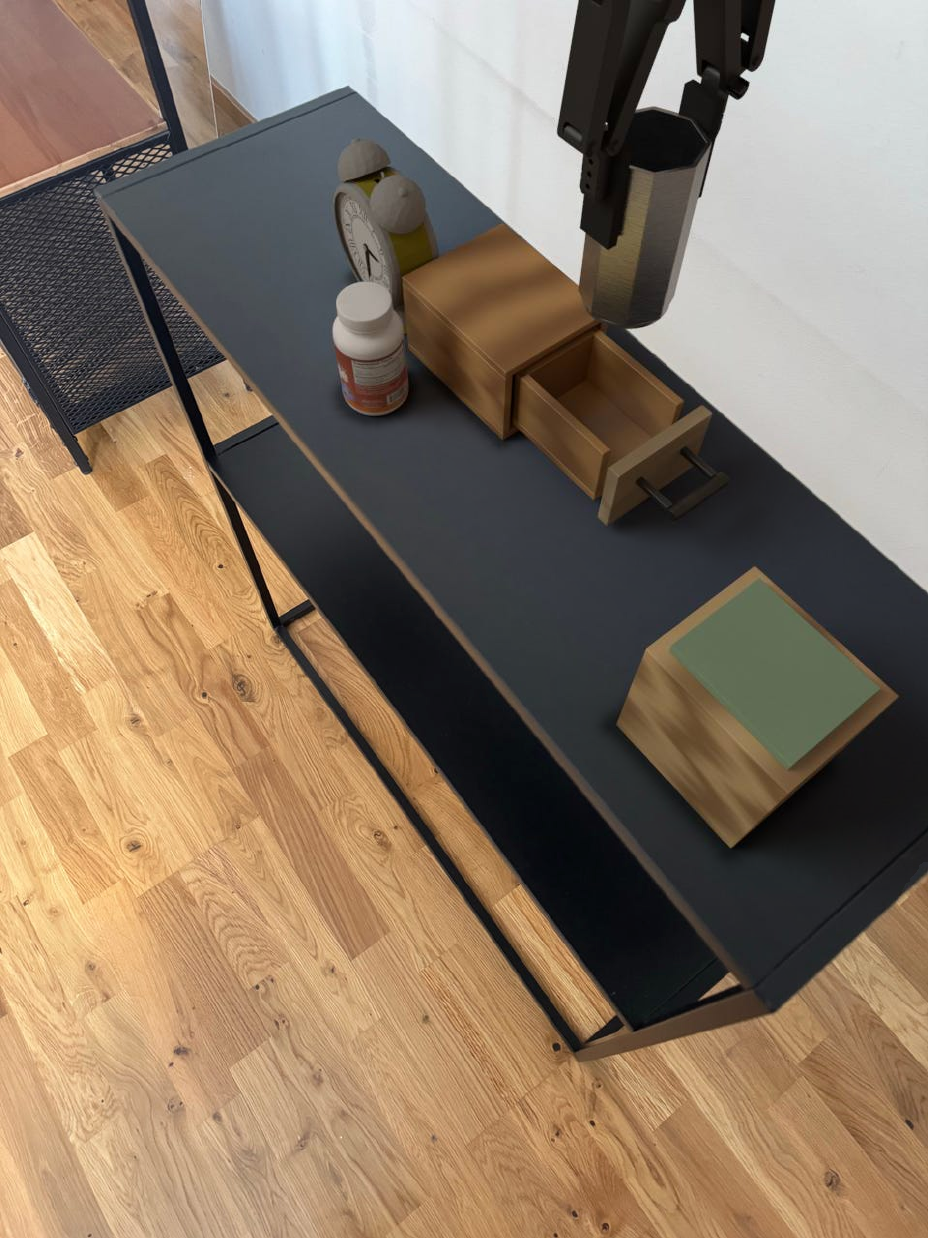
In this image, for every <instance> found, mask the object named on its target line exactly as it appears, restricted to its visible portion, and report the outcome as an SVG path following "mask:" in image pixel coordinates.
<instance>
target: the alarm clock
mask: <svg viewBox="0 0 928 1238" xmlns="http://www.w3.org/2000/svg"><path fill="white" fill-rule="evenodd" d="M337 163H338V164H337V175H338V179H339V181H342V183H340V184H339V185H337V187H336V189H335V191H334V193H333V200H332V209H333V210H332V211H333V218H334V222H335V227H336V232H337V236H338V240H339V242H340V245H341V247H342V251H343V253H344V256H345V258H346V261H347V263H348V265H349V267H350V269H351V272H352V273H353V275H354V277H355V278H356V280H357V283H358V282H374V283H377V284H380V285H382V286H383V287H385V288H386V289H387V290H388V291H389V293H390V295H391V297H392V304H393V310H394V311H395V312H396V313H397V314H398V316H399V317H400V319H401V321H402V324H403V330H404V335H407V328H406V316H405V305H404V293H403V281H402V277H403V276H405V275H407V274H409V273H410V272H412V271H414V270H416V269H418V268H420V267H422V266H424V265H425V264H427V263H429V262H431V261H433V260H435V259H437V258H438V257H440V252H439V247H438V241H437V237H436V234H435V230H434V226H433V224H432V222H431V218H430V216H429V213H428V210H427V204H426V198H425V195H424V192H423V191H422V188H421V187H420V186H419V185H418V184H417V183H416V181H414V180H413V179H411V178H409V177H407V176H406V175H404V174H403V173H402V172H401V171H400V170H398V169H396V168H394V167H393V166H389V165H390V164H391V163H392V161H391V159H390V156H389V155H388V153H387V151H386V150H385V149H384V148H383V147H382V146H380V145H379V144H378V143H377V142H374V141H372V140H368V139H360V138H358V137H354V138H353V139H352V140H351V142H350V144H348V145H347V146H346V147H345V148H344V149H343V150H342V151H341V154H340V156H339V159H338V162H337Z"/></svg>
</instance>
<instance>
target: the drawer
mask: <svg viewBox="0 0 928 1238" xmlns="http://www.w3.org/2000/svg"><path fill="white" fill-rule="evenodd" d="M684 402H685V401H684V399H682V397H680V396H679V395H678V394H676V393H675V392H674V391H673V390H672V389H671V388H669V387H668V386H667V385H666V384H665V383H664V382H662V381H661V380H660V379H659V378H658V377H656V376H655V374H653V373H651V372H650V370H648V369H647V368H646V367H644V365H642V364H641V363H640V362H639V361H638V360H636V359H635V358H634V357H632V356H631V355H630V354H629V353H628V352H627V351H626V350H624V348H622V347H621V346H620V345H618V344H617V343H616V342H614V340H613V339H611V338H610V337H609V336H608V335H607V334H604V333H603V332H602V331H601V330H599V329H598V328H597V327H596V326H594V327H592V328H590V329H589V330H587V331H585V332H584V333H582V334H580V335H579V336H577V337H575V338H574V339H572V340H570V341H569V342H567V343H565V344H564V345H562V346H560V347H559V348H557V349H555V350H554V351H552V352H550V353H549V354H547V355H545V356H544V357H542V358H540V359H539V360H537V361H536V362H534V363H532V364H531V365H529V366H527V367H526V368H524V369H522V370H521V371H519V372H517V373H516V374H515V388H514V404H513V424H514V425H515V426H516V427H517V428H518V429H519V431H520V432H521V433H522V434H523V435H524V436H525V437H526V438H527V439H529V440H530V441H531V442H532V444H534V445H535V446H536V448H538V449H539V450H540V451H541V452H542V453H543V454H544V455H545V456H546V457H547V458H548V459H549V460H550V461H551V462H553V463H554V464H555V465H556V467H558V468H559V469H560V470H561V471H562V472H563V473H564V474H565V475H566V476H567V477H568V478H569V479H571V481H572V482H573V483H575V485H577V486H578V488H580V489H581V490H582V491H583V492H584V493H585V494H586V495H587V496H588V497H589V498H590V499H591V500H592V501H595V500H597V499H598V498H600V497H601V500H600V503H599V504H600V505H599V508H598V510H599V511H598V514H597V518H598V519H599V520H600V521H601V522H602V523H603V524H604V525H605V526H606V527H608V526H609V525H610V524H612V523H614V522H615V521H616V520H618V519H619V518H621V517H622V516H623V515H626V514H627V513H628V512H629V511H632V509H634V508H635V507H637V506H638V505H639V504H641V503H642V502H644V501H645V500H646V499H648V498H650V499H652V501H654V502H655V503H656V504H657V505H658V506H660V508H661V509H663V510H664V513H665V517H666V519H667V520H668V521H669V522H670V523H676V522H678V521H679V520H680V519H682V518H683V517H685V516H686V515H687V514H689V513H690V512H691V511H693V510H694V509H696V508H698V506H700V505H701V504H703V503H704V502H706V501H707V500H709V499H710V498H711V497H712V496H714V495H715V494H717V493H718V492H720V491H721V490H722V489H724V488H725V487H726V486H728V485H729V483H730V479H729V477H728V475H727V474H726V473H724V472H722V471H720V472H717V471H716V470H714V469H713V468H712V467H711V466H710V465H709V464H707V463H706V462H705V461H704V460H703V459H702V458H700V457H699V456H698V455H699V452H700V450H701V448H702V445H703V442H704V439H705V436H706V433H707V430H708V427H709V425H710V422H711V420H712V416H713V412H711V410H709V409H708V408H707V407H706V406H704V405H703V404H701V405H700V406H698V407H697V408H695V409H693V410H692V411H691V412H689V413H688V414H686V415H685V416H683V417H682V418H680V415H681V412H682V409H683V405H684ZM679 418H680V419H679ZM693 467H694V468H695V469H696V470H698V472H700V473H701V474H702V475H703V476H705V478H707V479H708V480H707V481H705V482H704V483H702V484H701V485H699V486H698V487H697V488H695V489H694V490H692V491H691V492H689V493H688V494H686V495H685V496H684V497H683V498H681V499H680V500H678V501H677V502H675V503H674V504H673V503H672V502H671V501H670V500H669V499H667V497H665V496H664V495H663V494H662V493H661V492H660V490H661V489H662V488H664V487H666V486H667V485H668V484H670V483H671V482H672V481H674V480H676V479H677V478H678V477H679V476H682V475H683V474H684V473H686V472H687V471H688V470H691V468H693Z"/></svg>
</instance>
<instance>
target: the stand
mask: <svg viewBox="0 0 928 1238" xmlns="http://www.w3.org/2000/svg"><path fill="white" fill-rule="evenodd" d="M758 578H760V579H761V580H762V581H763V582H764V583H765V584H766V585H767V586H769V587H770V588H771V589H772V590H773V591H774V592H775V593H776V594H777V595H778V596H780V597H781V598H782V599H783V600H784V601H785V602H786V603H787V604H788V605H789V606H791V607H792V608H793V609H794V610H795V611H796V612H797V613H798V614H799V615H800V616H802V617H803V618H804V619H805V620H806V621H807V622H808V623H809V624H810V625H811V626H813V627H814V628H815V629H816V630H817V631H818V632H819V633H820V634H821V635H823V636H824V637H825V638H826V639H827V640H828V641H829V642H830V643H831V644H832V645H834V646H835V647H836V648H837V649H838V650H839V651H840V652H841V653H842V654H843V655H845V656H846V657H847V658H848V659H849V660H850V661H851V662H852V663H853V664H854V665H856V666H857V667H858V668H859V669H860V670H861V671H862V672H863V673H864V674H865V675H867V676H868V677H869V678H870V679H871V680H872V681H873V682H874V683H875V684H876V685H878V686H879V687H880V688H881V689H880V690H879V691H878V692H877V693H876V694H875V695H874V696H873V697H872V698H871V699H870V700H868V701H867V702H866V703H865V704H864V705H863V706H861V707H860V708H859V709H858V710H857V711H856V712H855V713H853V714H852V715H851V716H850V717H849V718H848V719H847V720H845V721H844V722H843V723H842V724H841V725H840V726H838V727H837V728H836V729H835V730H834V731H833V732H832V733H830V734H829V735H828V736H827V737H826V738H825V739H824V740H822V741H821V742H820V743H819V744H818V745H817V746H816V747H814V748H813V749H812V750H811V751H810V752H809V753H807V754H806V755H805V756H804V757H803V758H802V759H801V760H799V761H798V762H797V763H796V764H795V765H794V766H793V767H791V768H790V769H789V770H786V769H785V768H784V767H783V766H782V765H781V764H780V763H779V762H778V761H777V760H776V759H775V758H774V757H773V756H772V755H771V754H770V753H769V752H768V751H767V750H766V749H765V748H764V747H763V745H762V744H761V743H760V742H759V741H758V740H757V739H756V738H755V737H754V736H753V735H752V734H751V733H750V732H749V731H748V730H747V729H746V728H745V727H744V726H743V725H742V724H741V723H740V722H739V721H738V720H737V719H736V718H735V717H734V716H733V715H732V714H731V713H730V712H729V711H728V710H727V709H726V708H725V707H724V706H723V705H722V704H721V703H720V702H719V701H718V700H717V699H716V698H715V697H714V696H713V695H712V694H711V693H710V692H709V691H708V690H707V689H706V688H705V687H704V686H703V685H702V684H701V683H700V682H699V681H698V680H697V679H696V678H695V677H694V676H693V675H692V674H691V673H690V672H689V671H688V670H687V669H686V668H685V667H684V666H683V665H682V664H681V663H680V662H679V661H678V660H677V659H676V658H675V657H674V656H673V655H672V654H671V653H670V652H669V649H670V647H671V645H672V644H674V643H675V642H676V641H678V640H679V639H680V638H681V637H683V636H684V635H685V634H687V633H688V632H689V631H691V630H692V629H693V628H695V627H696V626H697V625H698V624H700V623H701V622H702V621H704V620H705V619H706V618H708V617H709V616H710V615H711V614H713V613H714V612H715V611H717V610H718V609H719V608H721V607H722V606H723V605H724V604H726V603H727V602H728V601H730V600H731V599H732V598H734V597H735V596H736V595H737V594H739V593H740V592H741V591H743V590H744V589H745V588H747V587H748V586H749V585H751V584H752V583H753V582H754V581H756V580H757V579H758ZM899 697H900V696H899V695H898V694H897V693H896V692H895V691H894V690H893V689H892V688H891V687H890V686H888V685H887V683H885V682H884V681H883V680H882V679H880V677H878V676H877V675H876V674H875V673H874V672H873V671H872V670H871V669H870V668H869V667H868V666H866V665H865V664H864V663H863V662H861V660H860V659H859V658H858V657H856V656H855V655H854V654H853V653H852V652H850V650H849V649H848V648H846V647H845V646H844V645H843V644H842V643H841V642H840V641H838V639H836V638H835V637H834V636H833V635H832V634H831V633H830V632H829V631H828V630H826V629H825V627H823V626H822V625H821V624H820V623H818V622H817V620H816V619H814V617H812V616H811V615H810V614H809V613H807V611H806V610H804V608H802V607H801V606H800V605H799V604H798V603H797V602H796V601H795V600H793V599H792V598H791V597H790V596H789V595H788V594H786V592H785V591H783V590H782V589H781V588H780V587H779V586H778V585H777V584H775V582H774V581H772V580H771V579H770V578H769V577H768V576H767V575H766V574H765V573H763V572H762V571H761V570H760V569H759V568H757V566H752V568H750V569H749V570H748V571H746V572H745V573H744V574H742V575H741V576H740V577H738V579H736V580H734V581H733V582H732V583H731V584H728V586H727V587H725V588H724V589H723V590H721V591H720V592H719V593H717V594H716V595H714V597H712V598H711V599H710V600H708V601H706V602H705V603H704V604H702V606H700V607H699V608H698V609H696V610H695V611H694V612H692V613H691V614H690V615H689V616H686V618H685V619H683V620H682V621H681V622H679V623H678V624H677V625H675V626H674V627H673V628H672V629H670V630H668V631H667V632H666V633H665V634H663V635H662V636H661V637H659V638H658V639H657V640H656V641H655V642H653V643H651V645H649V646H647V647H646V648H645V650H644V653H643V655H642V658H641V660H640V663H639V665H638V668H637V670H636V673H635V676H634V678H633V681H632V684H631V686H630V688H629V691H628V694H627V696H626V698H625V700H624V703H623V706H622V708H621V712H620V714H619V717H618V719H617V722H616V724H615V725H616V726H617V727H618V728H619V730H620V731H621V732H622V733H623V734H624V735H625V736H626V737H627V738H628V739H629V741H631V742H632V744H633V745H634V746H635V747H636V748H637V749H638V750H639V751H640V752H641V753H642V755H644V757H646V759H647V760H648V761H649V762H650V763H651V764H652V765H653V766H654V768H655V769H657V771H658V772H659V773H661V775H662V776H663V777H664V778H665V780H666V781H668V782H669V783H670V785H671V786H672V787H673V788H674V789H675V790H676V791H677V792H678V793H679V794H680V796H682V798H683V799H684V800H685V801H686V802H687V803H688V804H689V806H691V807H692V809H693V810H694V811H695V812H696V813H697V814H698V815H699V816H700V817H701V818H702V819H703V820H704V821H705V823H706V824H707V825H708V826H709V827H710V828H711V829H712V830H713V831H714V832H715V833H716V834H717V836H718V837H719V838H720V839H721V840H722V841H723V842H724V843H725V844H726V845H727V846H728V848H729V849H733V848H734V847H735V846H736V845H738V843H740V842H741V841H742V840H743V839H744V838H745V837H746V836H748V834H750V833H751V832H752V831H753V830H754V829H755V828H756V827H758V826H759V825H760V824H761V823H762V822H763V821H764V820H766V819H767V818H768V817H769V816H770V815H771V814H773V813H774V811H776V810H777V809H778V808H779V807H780V806H781V805H782V804H784V803H785V802H786V801H787V800H789V798H790V797H792V796H793V795H794V794H795V793H796V792H798V790H800V788H802V787H803V786H804V785H805V784H806V783H807V782H809V781H810V780H811V779H812V778H813V777H815V775H816V774H818V773H819V772H820V771H821V770H822V769H823V768H824V767H825V766H826V765H828V764H829V763H830V762H831V761H832V760H833V759H834V758H835V757H836V756H837V755H838V754H839V753H841V752H842V751H843V750H844V749H845V748H846V747H847V746H848V745H849V744H850V743H851V742H852V741H854V740H855V738H857V737H858V736H859V735H860V734H861V733H862V732H863V731H865V730H866V728H868V726H870V725H871V724H872V723H873V722H874V721H875V720H876V719H877V718H878V717H879V716H880V715H881V714H882V713H883V712H885V711H886V710H887V709H888V708H889V707H890V706H892V704H894V702H895V701H896V700H898V698H899Z"/></svg>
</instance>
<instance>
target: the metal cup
mask: <svg viewBox="0 0 928 1238" xmlns="http://www.w3.org/2000/svg"><path fill="white" fill-rule="evenodd" d="M606 124H607V123H606ZM607 125H608V124H607ZM624 143H625V144H626V145H627V146H629V147H630V148H632V155H631V161H630V167H629V173H628V179H627V185H626V191H625V197H624V203H623V209H622V215H621V221H620V227H619V233H618V239H617V245H616V246H614V247H613V248H611V249H609V250H607V249H606V248H604V247H603V246H602V245H600V244H599V243H598V242H597V241H595V240H594V239H593V238H591V237H590V236H589V235H588V234H586V233H585V232H584V242H583V250H582V257H581V265H580V273H579V280H578V285H579V288H578V291H579V293H580V295H581V300H582V303H583V306H584V308H585V309H586V311H587V312H588V313H589V314H590V315H591V316H592V317H593V318H594V319H596V320H597V321H599V322H601V323H603V324H605V325H607V327H608V326H609V327H611V328H615V329H622V330H634V329H635V330H637V329H642V328H645V327H649V326H650V325H651V326H652V325H654V324H656V323H657V322H658V321H659V320H661V319H662V318H663V317H664V316H665V314H666V313H667V312H668V310H669V307H670V304H671V302H672V301H673V299H674V298H675V294H676V290H677V287H678V286H677V285H678V282H679V277H680V274H681V270H682V265H683V262H684V258H685V257H684V256H685V252H686V250H687V245H688V243H689V242H688V241H689V237H690V233H691V229H692V225H693V221H694V216H695V213H696V209H697V205H698V200H699V198H698V197H699V193H700V189H701V185H702V181H703V177H704V173H705V169H706V165H707V160H708V156H709V152H710V148H711V144H712V142H711V141H710V139H709V138H708V137H707V135H706V134H705V132H704V131H703V130H702V128H701V127H700V125H699V124H698V123H697V121H696V120H695V119H694V118H693V117H690V116H686V115H683V114H680V113H679V112H676V111H673V110H669V109H666V108H662V107H659V106H654V105H653V106H648V107H642V108H637V109H636V111H635V114H634V116H633V119H632V122H631V124H630V127H629V129H628V132H627V135H626V137H625V140H624Z"/></svg>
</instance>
